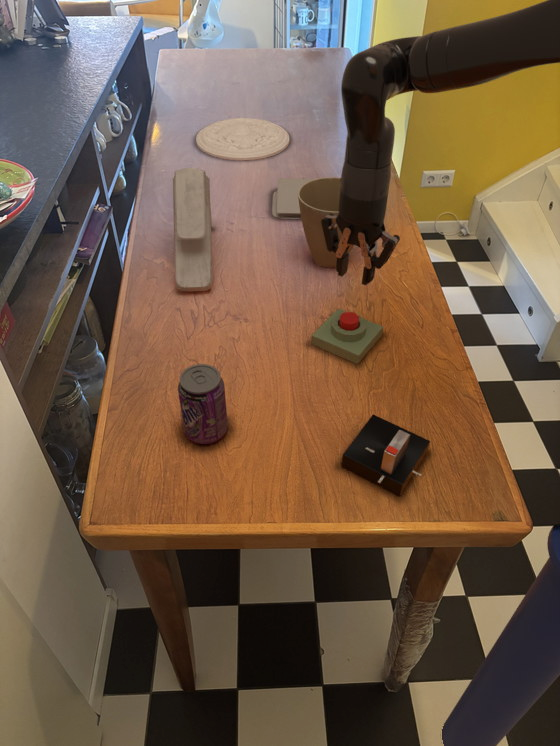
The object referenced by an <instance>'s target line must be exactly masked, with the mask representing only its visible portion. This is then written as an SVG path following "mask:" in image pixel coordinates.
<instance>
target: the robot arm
mask: <svg viewBox="0 0 560 746" xmlns="http://www.w3.org/2000/svg"><path fill="white" fill-rule="evenodd" d="M553 64H560V0H544V1H541V2H539V3H536V4H534V5H530V6H528V7H524V8H521V9H518V10H515V11H512V12H509V13H505V14H501V15H498V16H494V17H490V18H486V19H483V20H477V21H473V22H469V23H466V24H460V25H457V26H453V27H448V28H444V29H440V30H436V31H432V32H429V33H427V34H424V35H417V36H407V37H400V38H395V39H391V40H387V41H383V42H380V43H377V44H375V45H374V46H370V47H368V48H366V49H364V50H361V51H360V52H358V53H355V54H354V55H353V56H351V58H350V59H349V60H348V62H347V63H346V65H345V68H344V70H343V73H342V77H341V85H340V86H341V88H340V90H341V91H340V93H341V102H342V109H343V116H344V122H345V126H346V140H345V149H344V159H343V165H342V169H341V177H340V178H341V180H340V182H341V187H340V198H339V214H338V216H334V215H333V214H332V213H330V214H328V215H327V216H326V217H324V218H323V219H322V220H321V224H322V228H323V233H324V237H325V242H326V246H327V250H328V251H329V252H332V251H333V252H334V253H335V254H336V256H337V263H336V267H335V271H336V272H337V276H339V277H341V278H343V277H344V276H345V275H346V274H347V273H348V270H349V260H350V254H348V253H347V252H348V250H349V248H350V246H351V245H354V246H356V247H358V248H360V253H361V256H362V258H363V262H364V266H363V270H362V276H361V277H362V279H361V285H363V286H367V285H368V284H370V283H371V282H372V281H373V280H374V278H375V273H376V270H380V269H382V267H384V265H386V264H387V262H388V261H389V260H390V258H391V256H392V255H393V252H394V251H395V249H396V247H397V246H398V244H399V242H400V240H401V238H400V235H398V234H393V235H392V234H390V233H389V232H388V231H386V225H385V218H386V212H387V206H388V205H387V204H388V198H389V192H390V191H389V190H390V185H391V177H392V159H393V152H394V147H395V138H396V137H395V135H396V128H395V125H394V122H393V121H392V120H391V118H389V117H387V116H386V104H387V101H389V100H390V99H392V98H394V97H396V96H398V95H401V94H406V93H410V92H417V91H418V92H420V93H422V94H436V93H437V94H438V93H444V92H445V93H446V92H450V91H455V90H461V89H467V88H472V87H476V86H477V87H478V86H481V85H484V84H488V83H491V82H493V81H496V80H499V79H501V78H504V77H506V76H509V75H511V74H514V73H517V72H520V71H522V70H526V69H527V70H528V69H530V68H531V69H532V68H534V67H539V66H545V65H553ZM337 225H338V227H339V229H340V231H341V233H342V237H341V240H340V241H339V236H338V231H337ZM380 239H381V241H382V242H381V247H382V248H383V249H382V250H381V252H380V254H379V256H378V240H380Z"/></svg>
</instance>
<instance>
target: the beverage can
mask: <svg viewBox="0 0 560 746" xmlns="http://www.w3.org/2000/svg"><path fill="white" fill-rule="evenodd" d="M177 394H178V399H179V406H180V413H181V421H182V425H183V432H184V435H185V436H186V437H187V438H188V440H190V441H191V442H193V443H195V444H201V445H207V444H213V443H215V442H218V441H220V440H221V439H222V438H223V437H224V436H225V435H226V433H227V431H228V412H227V401H226V388H225V381H224V379H223V377H222V376H221V373H220V370H218V369H217V367H215V366H213V365H211V364H206V363H197V364H193V365H190V366H188V367H186V368H184V370H183V371H182V372H181V373H180V376H179V382H178V385H177Z"/></svg>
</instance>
